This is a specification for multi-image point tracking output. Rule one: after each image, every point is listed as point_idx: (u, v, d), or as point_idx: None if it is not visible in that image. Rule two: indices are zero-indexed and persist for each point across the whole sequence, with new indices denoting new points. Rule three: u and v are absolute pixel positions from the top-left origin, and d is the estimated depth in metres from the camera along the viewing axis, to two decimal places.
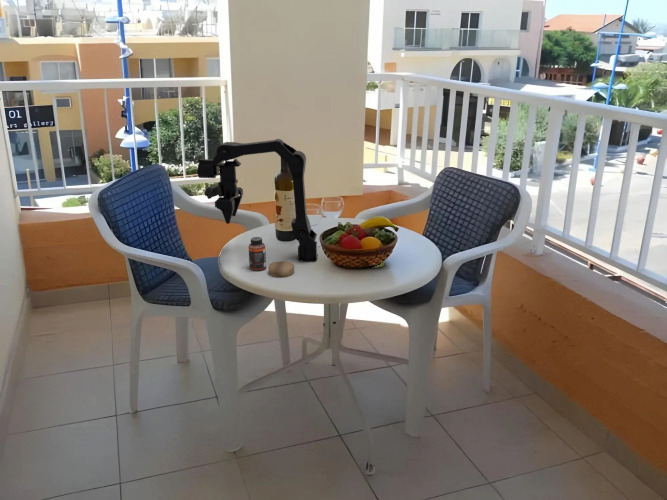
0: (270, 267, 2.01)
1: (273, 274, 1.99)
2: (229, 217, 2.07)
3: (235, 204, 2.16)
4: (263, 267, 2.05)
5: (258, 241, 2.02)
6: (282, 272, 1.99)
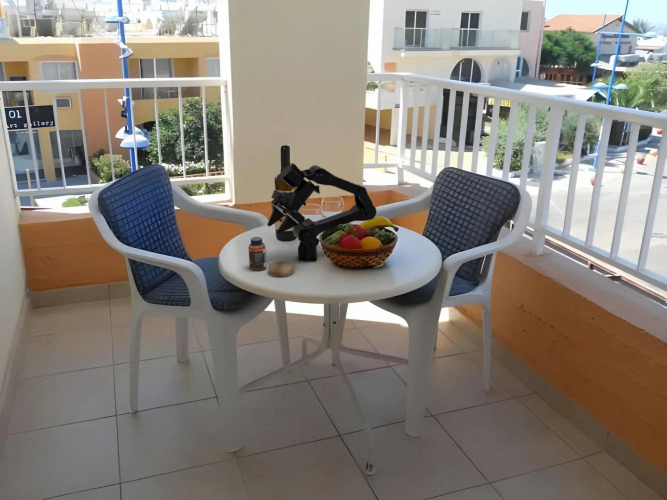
0: (270, 267, 2.01)
1: (273, 274, 1.99)
2: (285, 229, 2.02)
3: (277, 217, 2.10)
4: (263, 267, 2.05)
5: (258, 241, 2.02)
6: (282, 272, 1.99)
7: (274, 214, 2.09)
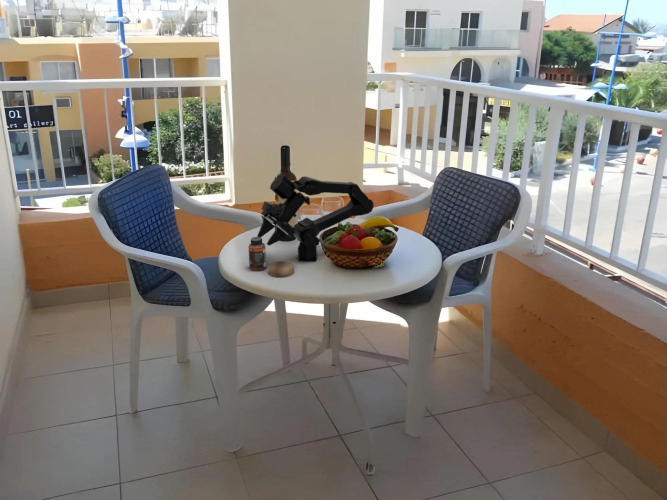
0: (270, 267, 2.01)
1: (273, 274, 1.99)
2: (275, 241, 2.01)
3: (267, 228, 2.10)
4: (263, 267, 2.05)
5: (258, 241, 2.02)
6: (282, 272, 1.99)
7: (264, 225, 2.09)
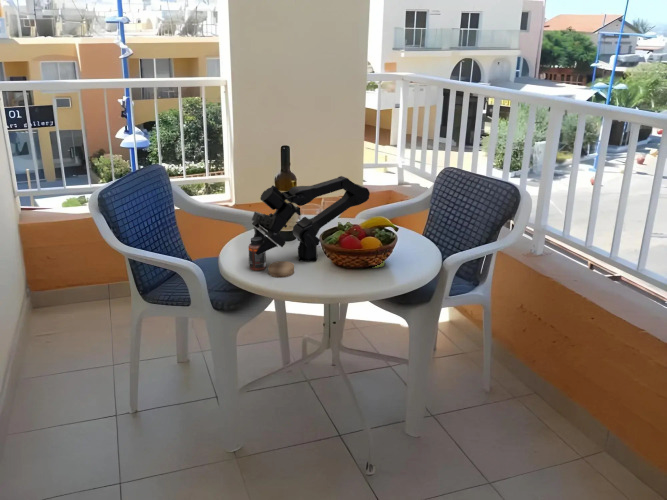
0: (270, 267, 2.01)
1: (273, 274, 1.99)
2: (264, 250, 2.02)
3: None
4: (263, 267, 2.05)
5: (258, 241, 2.02)
6: (282, 272, 1.99)
7: None
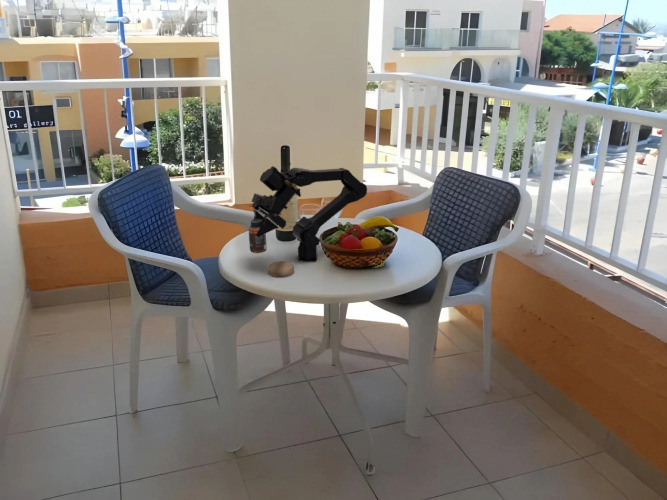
0: (270, 267, 2.01)
1: (273, 274, 1.99)
2: (264, 232, 1.99)
3: None
4: (263, 249, 2.03)
5: (258, 223, 1.99)
6: (282, 272, 1.99)
7: None
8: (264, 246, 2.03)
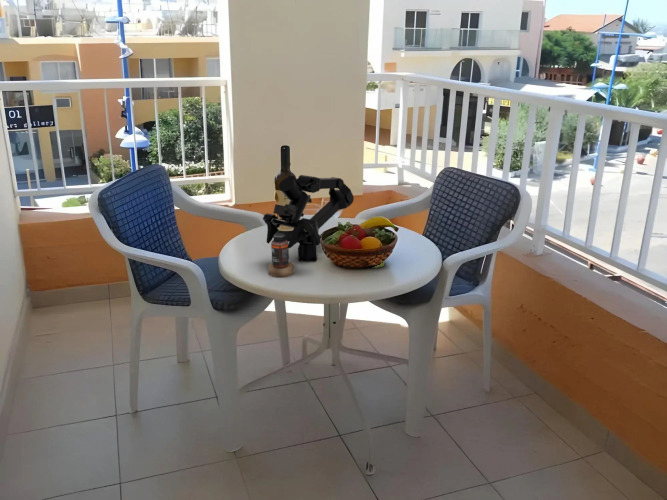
0: (270, 267, 2.01)
1: (273, 274, 1.99)
2: (295, 242, 1.97)
3: (273, 232, 2.03)
4: (288, 263, 2.02)
5: (283, 237, 1.98)
6: (282, 272, 1.99)
7: (271, 230, 2.02)
8: (288, 259, 2.02)
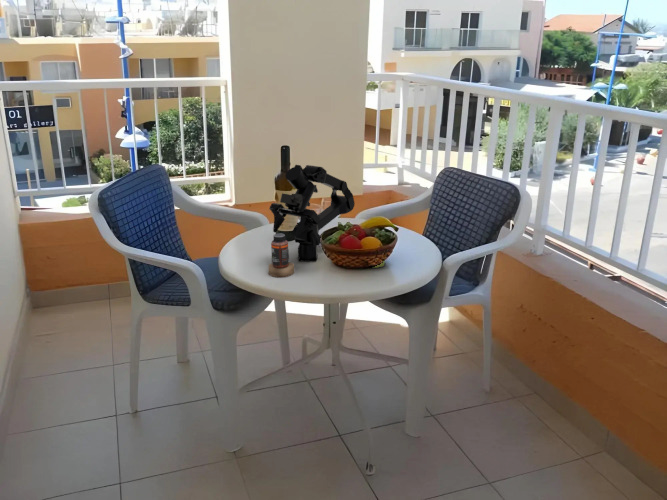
0: (270, 267, 2.01)
1: (273, 274, 1.99)
2: (301, 231, 1.99)
3: (280, 222, 2.05)
4: (288, 263, 2.02)
5: (283, 237, 1.98)
6: (282, 272, 1.99)
7: (278, 219, 2.04)
8: (288, 259, 2.02)
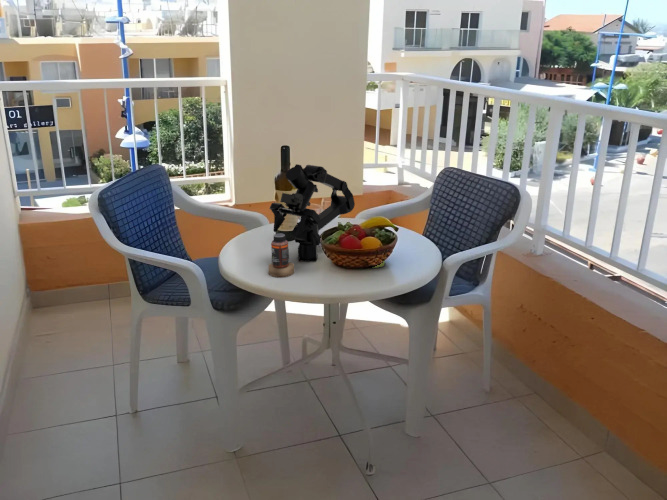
0: (270, 267, 2.01)
1: (273, 274, 1.99)
2: (301, 231, 1.99)
3: (280, 221, 2.05)
4: (288, 263, 2.02)
5: (283, 237, 1.98)
6: (282, 272, 1.99)
7: (278, 219, 2.04)
8: (288, 259, 2.02)
